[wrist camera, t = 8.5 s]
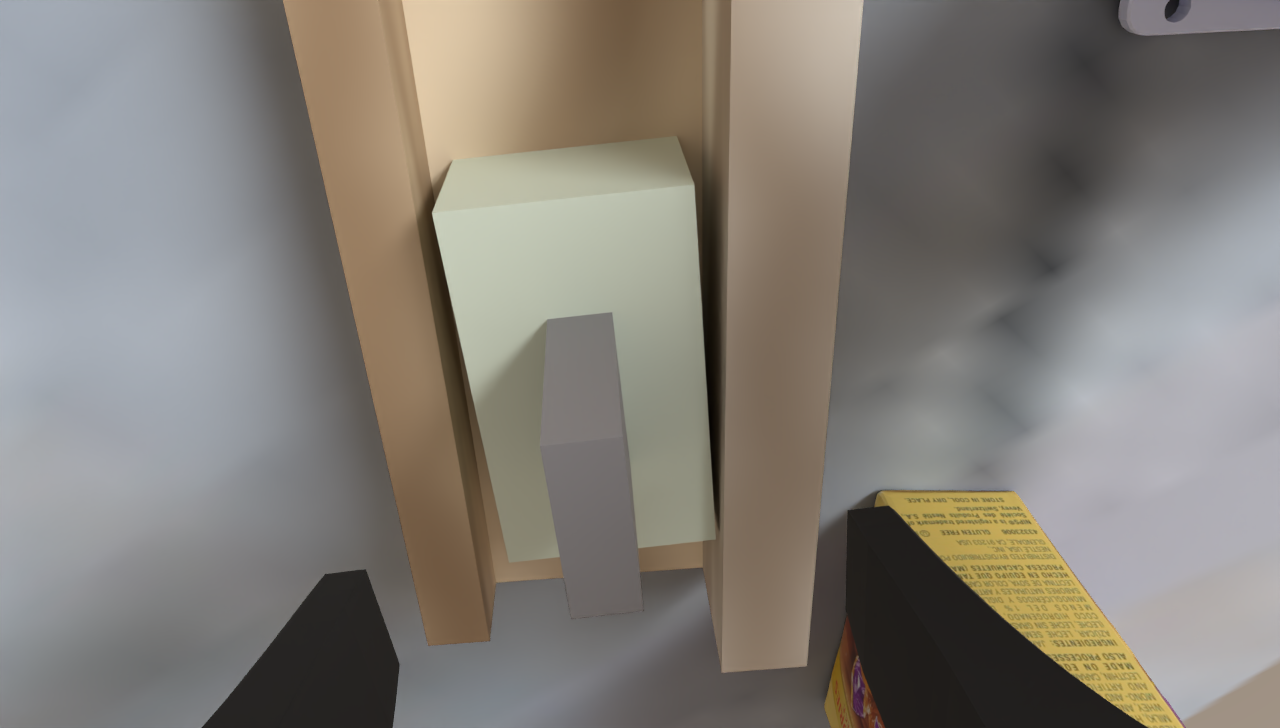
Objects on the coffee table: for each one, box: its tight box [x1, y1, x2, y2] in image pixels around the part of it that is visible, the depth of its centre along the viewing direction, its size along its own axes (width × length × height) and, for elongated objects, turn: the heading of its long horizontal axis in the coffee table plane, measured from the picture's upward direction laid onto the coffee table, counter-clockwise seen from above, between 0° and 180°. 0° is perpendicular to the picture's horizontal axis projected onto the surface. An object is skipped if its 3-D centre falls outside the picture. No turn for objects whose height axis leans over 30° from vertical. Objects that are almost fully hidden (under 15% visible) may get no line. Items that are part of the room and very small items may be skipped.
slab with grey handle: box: [432, 136, 716, 619], centre depth 17 cm, size 4×8×7 cm, turn 5°
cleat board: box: [283, 0, 864, 673], centre depth 17 cm, size 9×20×4 cm, turn 2°
